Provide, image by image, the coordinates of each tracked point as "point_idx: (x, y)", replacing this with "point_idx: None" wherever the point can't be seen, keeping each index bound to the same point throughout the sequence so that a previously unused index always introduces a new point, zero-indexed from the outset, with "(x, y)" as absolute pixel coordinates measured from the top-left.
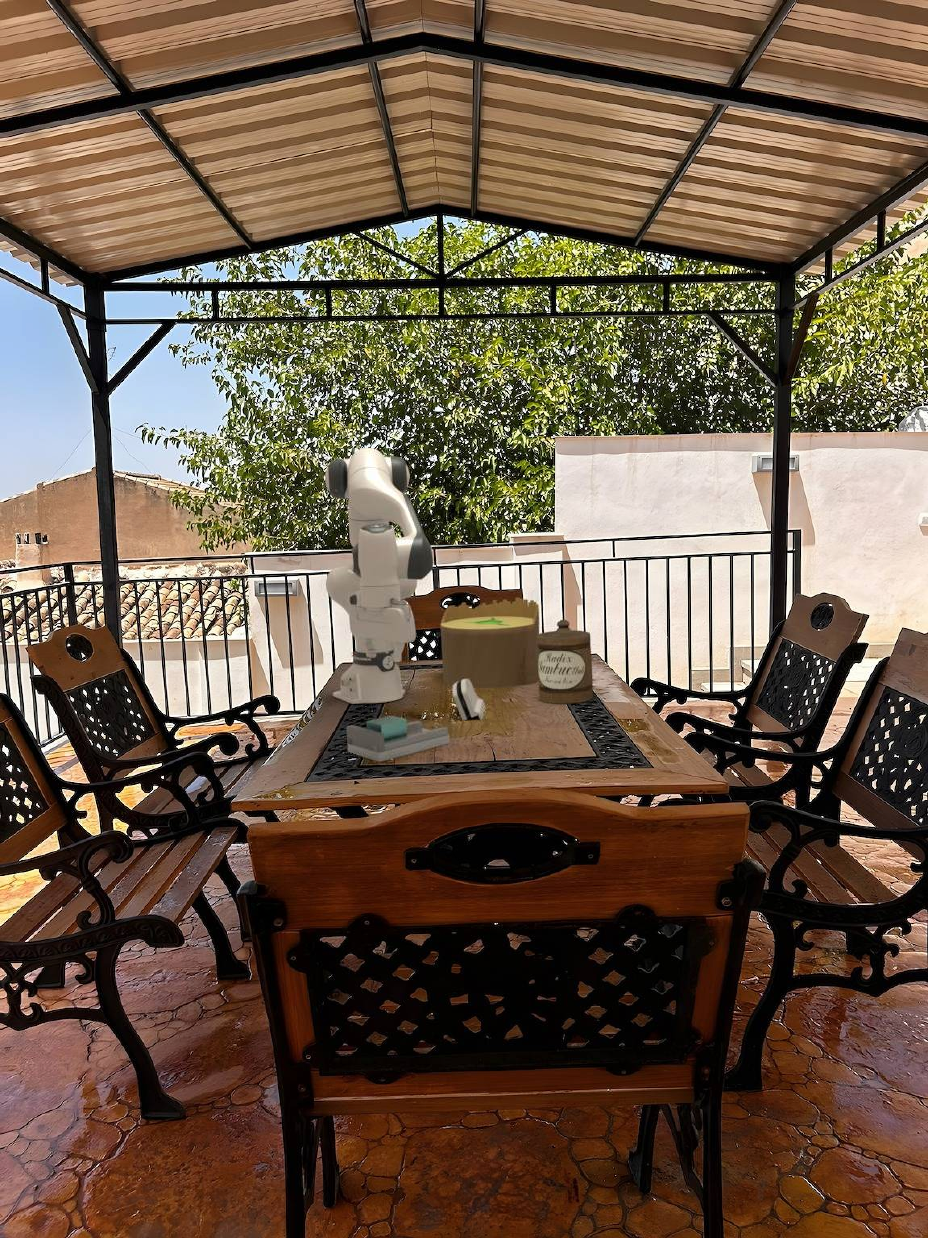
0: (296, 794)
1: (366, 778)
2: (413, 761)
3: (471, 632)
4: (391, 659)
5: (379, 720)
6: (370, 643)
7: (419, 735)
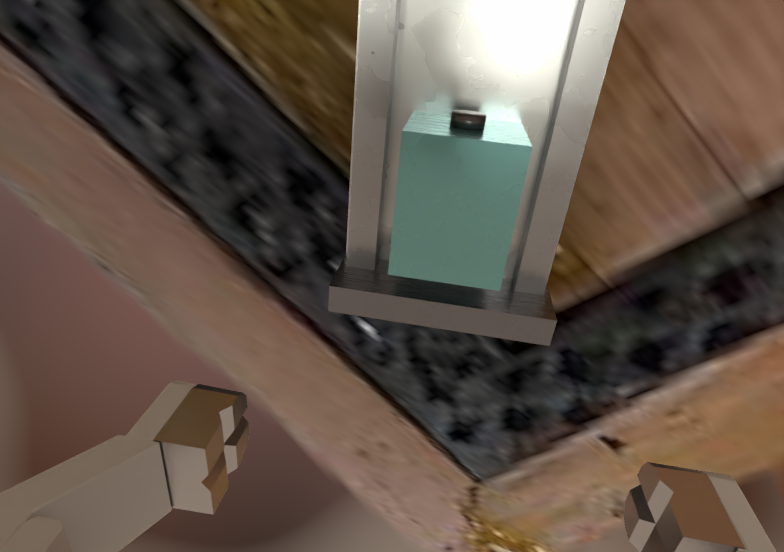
0: (537, 538)
1: (614, 411)
2: (648, 225)
3: None
4: (631, 535)
5: (426, 235)
6: (73, 511)
7: (594, 109)
